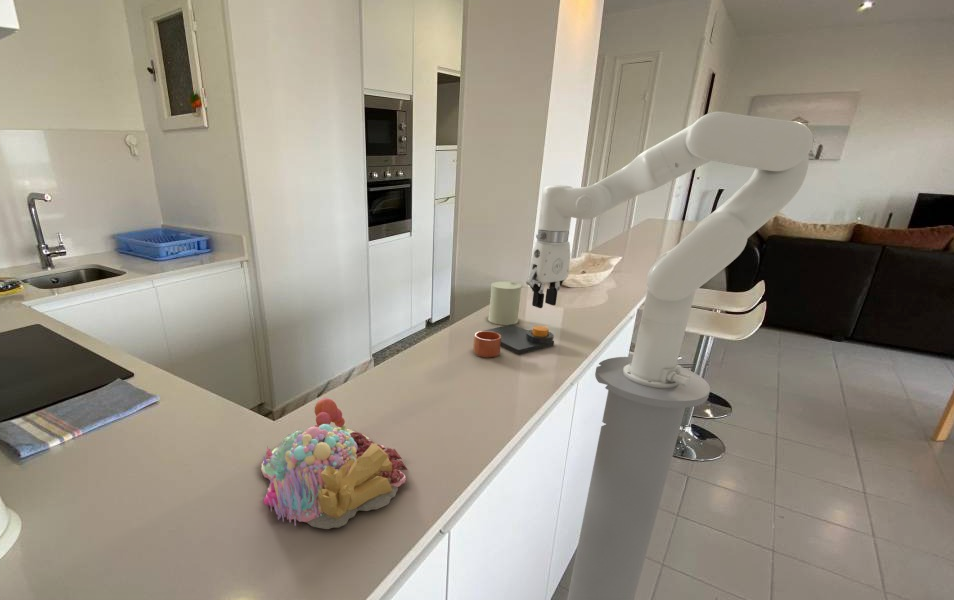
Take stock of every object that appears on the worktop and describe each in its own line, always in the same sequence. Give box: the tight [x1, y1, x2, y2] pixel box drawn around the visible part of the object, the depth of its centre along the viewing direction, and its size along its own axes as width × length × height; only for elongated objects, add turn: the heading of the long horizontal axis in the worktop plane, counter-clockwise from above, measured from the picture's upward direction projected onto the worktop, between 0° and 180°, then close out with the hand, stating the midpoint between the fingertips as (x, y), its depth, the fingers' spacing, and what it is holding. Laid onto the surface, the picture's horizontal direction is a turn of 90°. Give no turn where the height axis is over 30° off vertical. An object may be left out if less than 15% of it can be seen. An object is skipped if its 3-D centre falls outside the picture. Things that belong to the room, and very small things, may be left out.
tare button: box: [532, 325, 549, 337], centre depth 131 cm, size 4×4×2 cm
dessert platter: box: [260, 397, 408, 530], centre depth 77 cm, size 25×24×9 cm
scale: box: [478, 324, 555, 356], centre depth 134 cm, size 16×14×3 cm
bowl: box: [472, 330, 501, 358], centre depth 125 cm, size 7×7×5 cm
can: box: [487, 280, 523, 326], centre depth 149 cm, size 9×9×12 cm
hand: (543, 304), depth 128 cm, fingers open, 4 cm apart
